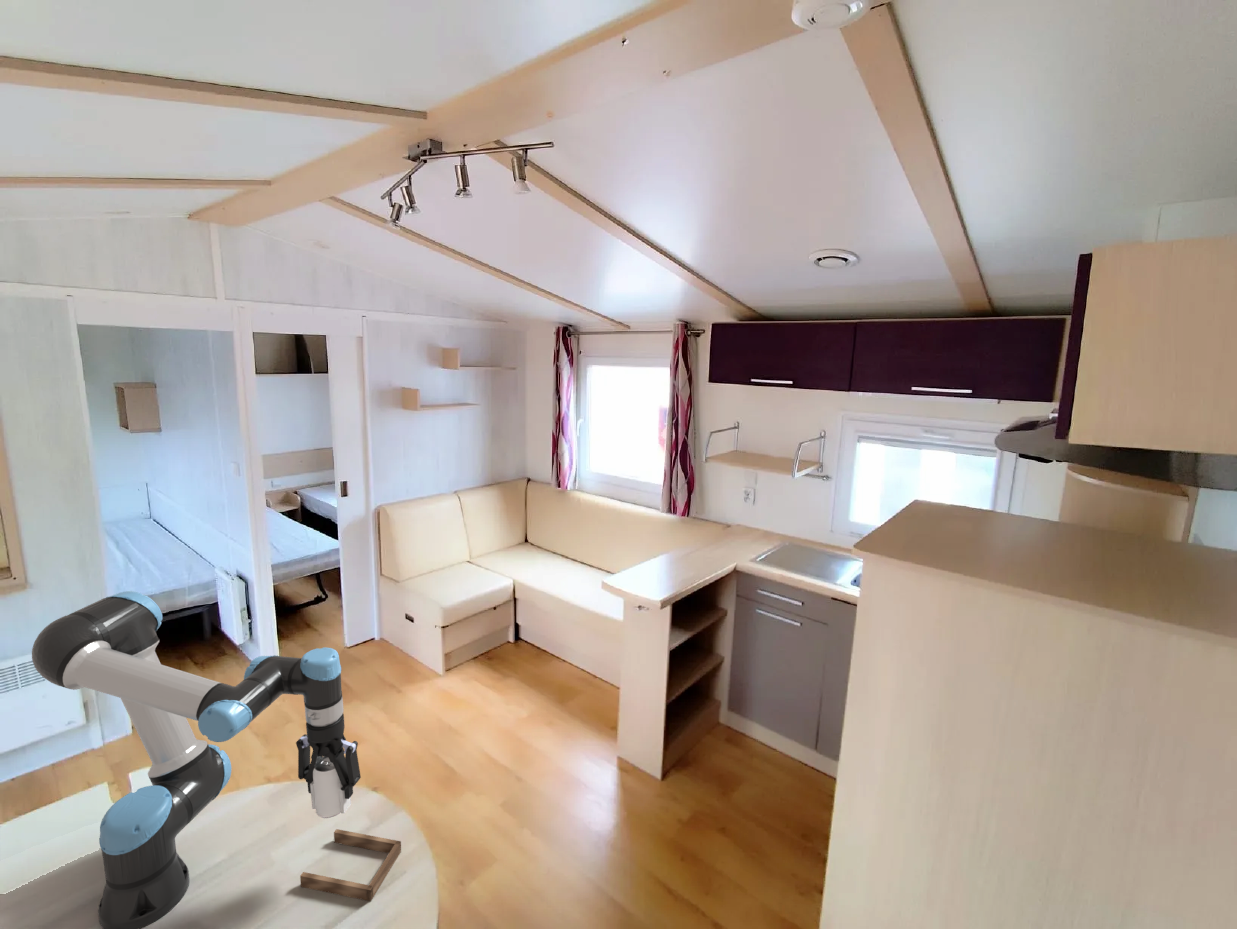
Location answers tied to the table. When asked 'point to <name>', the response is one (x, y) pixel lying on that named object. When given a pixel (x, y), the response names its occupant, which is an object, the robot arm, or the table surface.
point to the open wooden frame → (351, 887)
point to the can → (326, 789)
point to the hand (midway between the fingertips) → (331, 806)
